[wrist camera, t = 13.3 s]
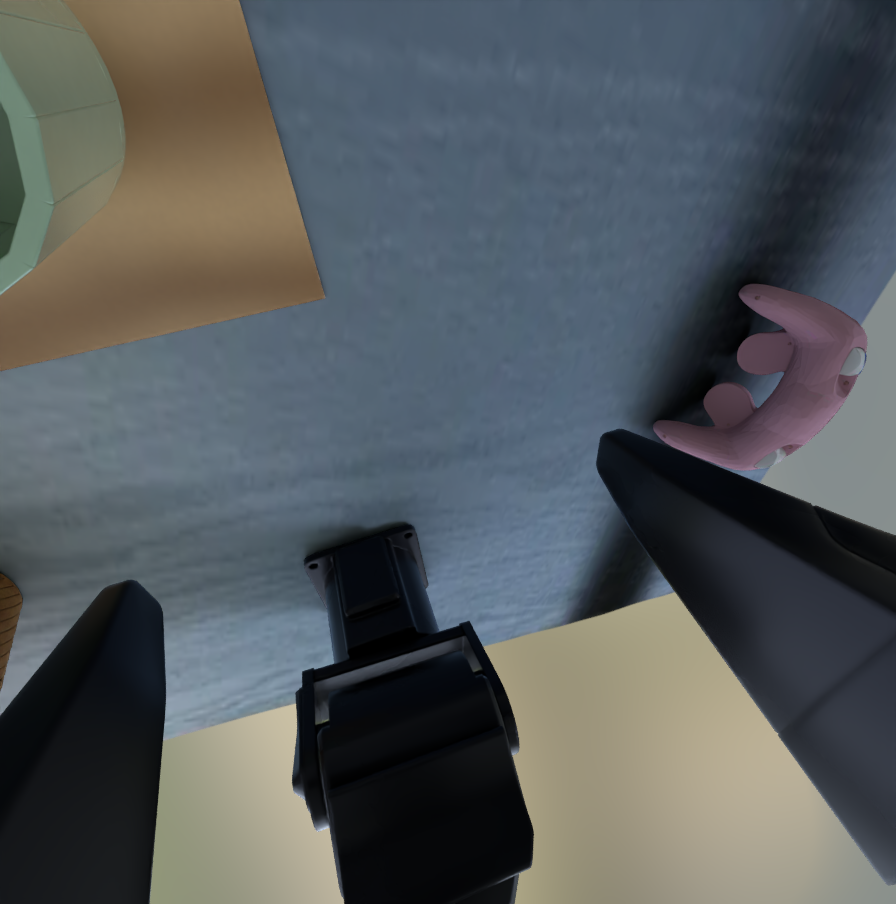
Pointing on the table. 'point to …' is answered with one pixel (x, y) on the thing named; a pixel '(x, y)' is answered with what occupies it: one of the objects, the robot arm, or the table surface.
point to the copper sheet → (172, 194)
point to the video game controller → (798, 393)
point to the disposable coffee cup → (7, 619)
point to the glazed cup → (51, 132)
